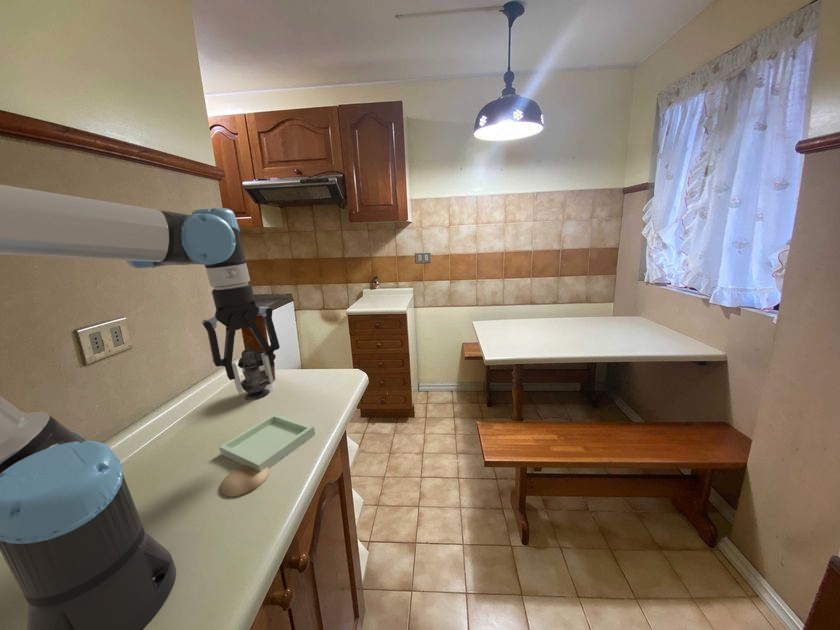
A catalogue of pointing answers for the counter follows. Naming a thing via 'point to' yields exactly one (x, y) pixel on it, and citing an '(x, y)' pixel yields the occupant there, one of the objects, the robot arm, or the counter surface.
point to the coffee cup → (262, 369)
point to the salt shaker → (253, 376)
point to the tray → (267, 442)
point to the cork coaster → (243, 481)
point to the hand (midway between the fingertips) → (255, 385)
